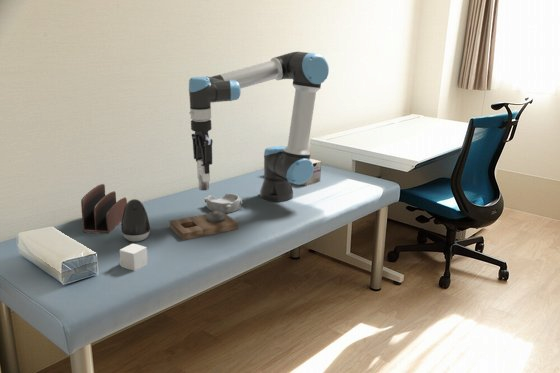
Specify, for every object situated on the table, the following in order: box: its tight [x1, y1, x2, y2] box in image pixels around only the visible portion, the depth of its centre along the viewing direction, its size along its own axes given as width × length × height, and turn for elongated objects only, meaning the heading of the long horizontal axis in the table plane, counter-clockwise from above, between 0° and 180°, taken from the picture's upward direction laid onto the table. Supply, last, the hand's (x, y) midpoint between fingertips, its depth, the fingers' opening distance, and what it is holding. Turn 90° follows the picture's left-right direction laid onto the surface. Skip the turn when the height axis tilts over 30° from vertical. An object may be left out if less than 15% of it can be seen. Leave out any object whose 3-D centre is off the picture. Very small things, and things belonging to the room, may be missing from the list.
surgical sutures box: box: [302, 158, 322, 187], centre depth 264 cm, size 25×11×11 cm, turn 47°
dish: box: [203, 192, 243, 214], centre depth 221 cm, size 14×14×5 cm
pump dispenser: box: [120, 198, 151, 243], centre depth 186 cm, size 10×10×15 cm
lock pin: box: [197, 159, 210, 191], centre depth 200 cm, size 4×4×12 cm
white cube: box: [119, 242, 149, 272], centre depth 168 cm, size 6×6×6 cm
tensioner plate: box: [168, 211, 239, 241], centre depth 198 cm, size 22×14×6 cm, turn 122°
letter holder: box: [80, 183, 128, 234], centre depth 201 cm, size 10×20×14 cm, turn 175°
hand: (203, 179), depth 200 cm, fingers closed on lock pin, 4 cm apart
